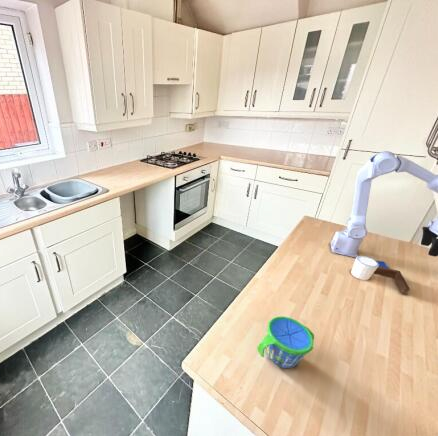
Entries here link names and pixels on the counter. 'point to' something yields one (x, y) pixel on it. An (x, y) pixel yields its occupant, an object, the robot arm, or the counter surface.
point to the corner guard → (397, 277)
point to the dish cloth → (382, 264)
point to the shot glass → (364, 267)
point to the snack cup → (286, 341)
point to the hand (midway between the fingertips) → (428, 250)
